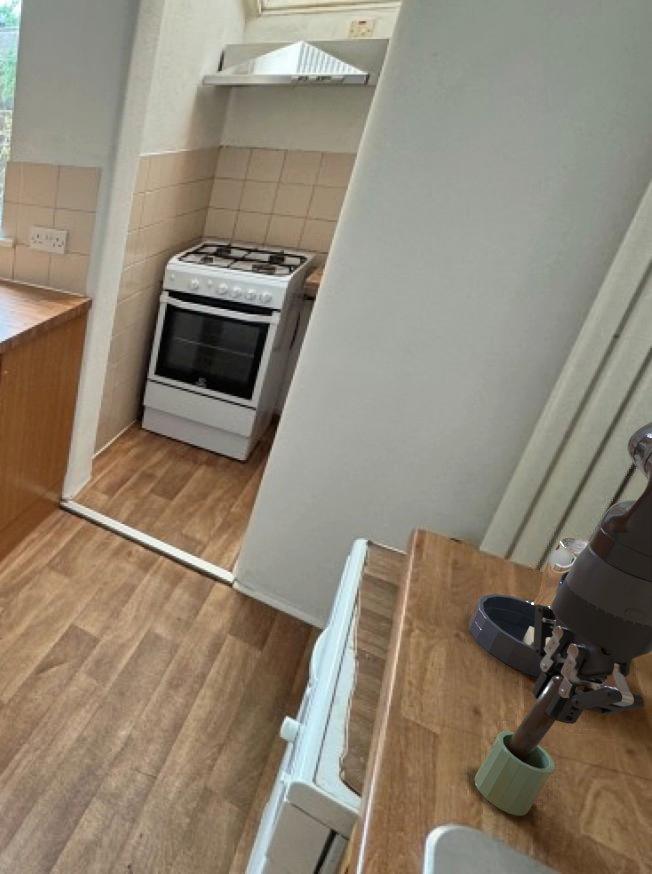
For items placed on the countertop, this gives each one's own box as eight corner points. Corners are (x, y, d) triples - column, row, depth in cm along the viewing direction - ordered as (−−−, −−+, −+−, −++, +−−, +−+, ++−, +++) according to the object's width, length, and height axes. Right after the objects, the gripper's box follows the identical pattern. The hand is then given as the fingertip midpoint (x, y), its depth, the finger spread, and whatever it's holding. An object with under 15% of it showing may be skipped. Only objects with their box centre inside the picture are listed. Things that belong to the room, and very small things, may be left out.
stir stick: (505, 783, 75) (579, 678, 68) (506, 795, 74) (581, 689, 67) (484, 771, 77) (555, 667, 69) (484, 783, 75) (556, 677, 68)
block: (555, 658, 94) (565, 639, 92) (558, 675, 91) (569, 656, 90) (520, 644, 96) (529, 625, 95) (521, 660, 93) (532, 641, 92)
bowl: (543, 630, 100) (557, 605, 98) (596, 696, 89) (613, 669, 87) (451, 610, 104) (463, 585, 102) (491, 671, 93) (505, 645, 90)
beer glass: (525, 597, 106) (560, 529, 101) (582, 621, 102) (621, 551, 96) (520, 617, 102) (555, 547, 97) (578, 644, 97) (620, 572, 92)
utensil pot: (512, 783, 77) (539, 738, 74) (536, 824, 73) (565, 778, 70) (465, 770, 79) (489, 725, 76) (485, 809, 74) (511, 764, 71)
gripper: (722, 658, 56) (637, 778, 63) (616, 560, 68) (554, 669, 75) (619, 636, 58) (546, 754, 65) (534, 545, 71) (480, 652, 77)
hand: (550, 708), depth 70 cm, fingers closed on stir stick, 2 cm apart
